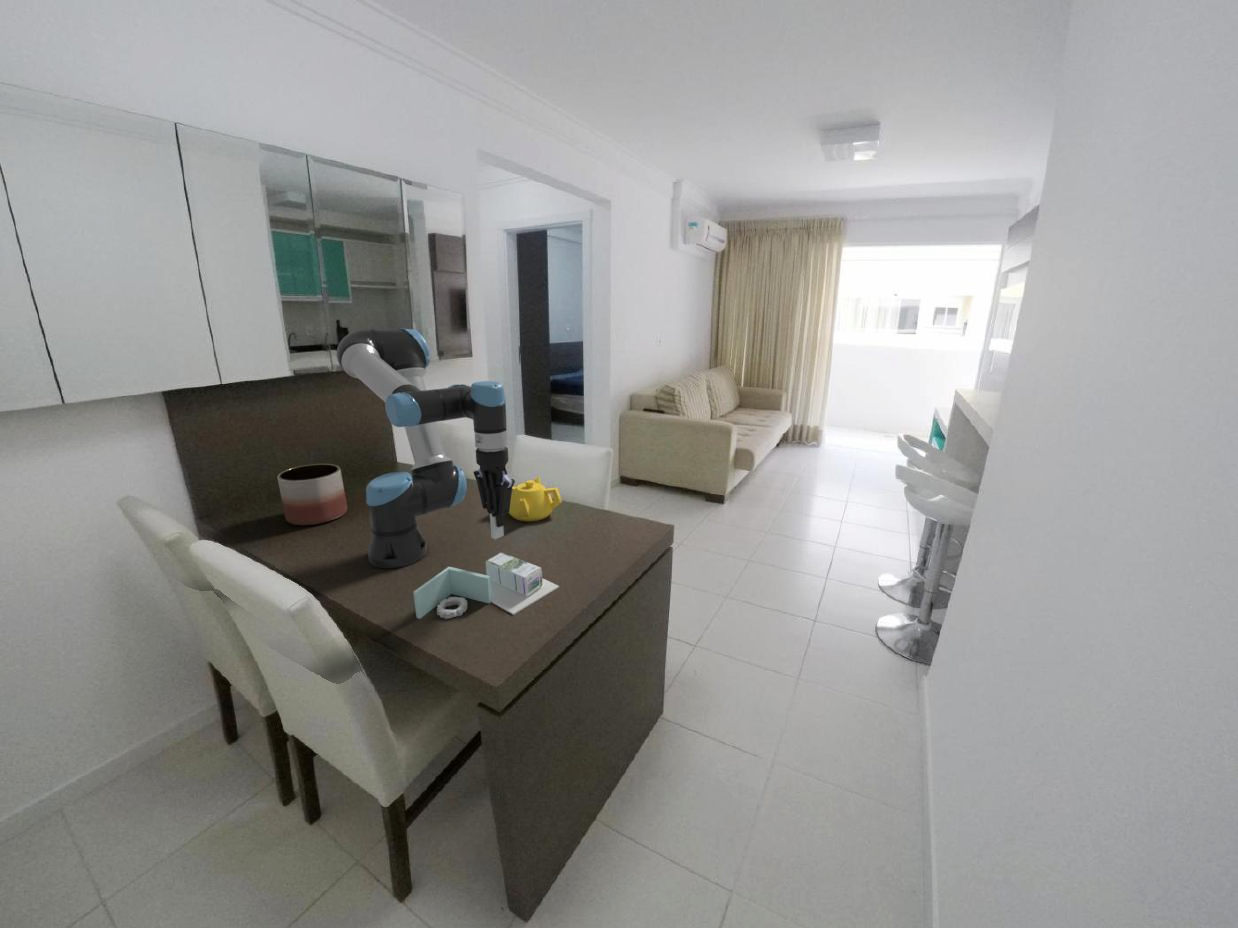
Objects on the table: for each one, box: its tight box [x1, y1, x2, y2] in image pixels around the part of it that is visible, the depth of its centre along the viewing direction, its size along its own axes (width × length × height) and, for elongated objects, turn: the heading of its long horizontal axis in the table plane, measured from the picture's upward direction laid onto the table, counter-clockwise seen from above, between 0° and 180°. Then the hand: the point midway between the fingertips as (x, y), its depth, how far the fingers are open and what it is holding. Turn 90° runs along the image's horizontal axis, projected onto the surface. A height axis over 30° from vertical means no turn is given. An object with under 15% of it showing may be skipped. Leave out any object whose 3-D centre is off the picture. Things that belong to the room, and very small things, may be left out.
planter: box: [276, 463, 348, 526], centre depth 159 cm, size 18×18×16 cm
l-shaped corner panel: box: [413, 566, 492, 620], centre depth 113 cm, size 12×12×8 cm
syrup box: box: [485, 551, 543, 597], centre depth 123 cm, size 6×6×14 cm
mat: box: [491, 577, 560, 616], centre depth 122 cm, size 16×15×1 cm
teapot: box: [508, 477, 563, 522], centre depth 165 cm, size 17×17×12 cm
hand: (497, 536), depth 122 cm, fingers closed
